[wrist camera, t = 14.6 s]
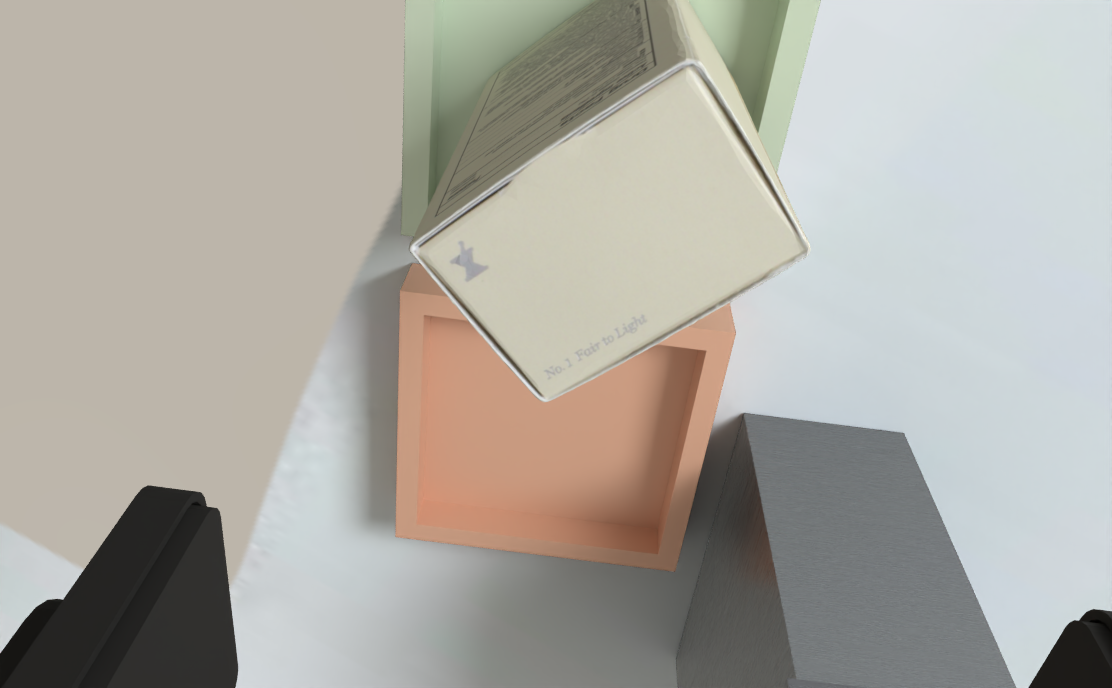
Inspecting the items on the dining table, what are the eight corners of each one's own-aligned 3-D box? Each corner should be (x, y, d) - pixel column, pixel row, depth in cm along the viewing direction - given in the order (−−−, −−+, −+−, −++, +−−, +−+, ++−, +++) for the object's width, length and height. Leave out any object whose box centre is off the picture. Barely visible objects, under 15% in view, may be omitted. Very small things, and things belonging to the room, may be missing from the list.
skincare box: (567, 189, 28) (536, 419, 18) (481, 72, 26) (392, 252, 16) (743, 76, 26) (824, 264, 16) (663, -60, 24) (694, 51, 14)
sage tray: (832, -119, 24) (849, -112, 22) (742, 251, 30) (749, 278, 28) (423, -171, 24) (408, -169, 22) (413, 209, 30) (401, 235, 28)
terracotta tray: (729, 303, 31) (735, 332, 29) (672, 535, 37) (675, 571, 35) (412, 263, 31) (400, 290, 29) (405, 502, 36) (395, 536, 35)
